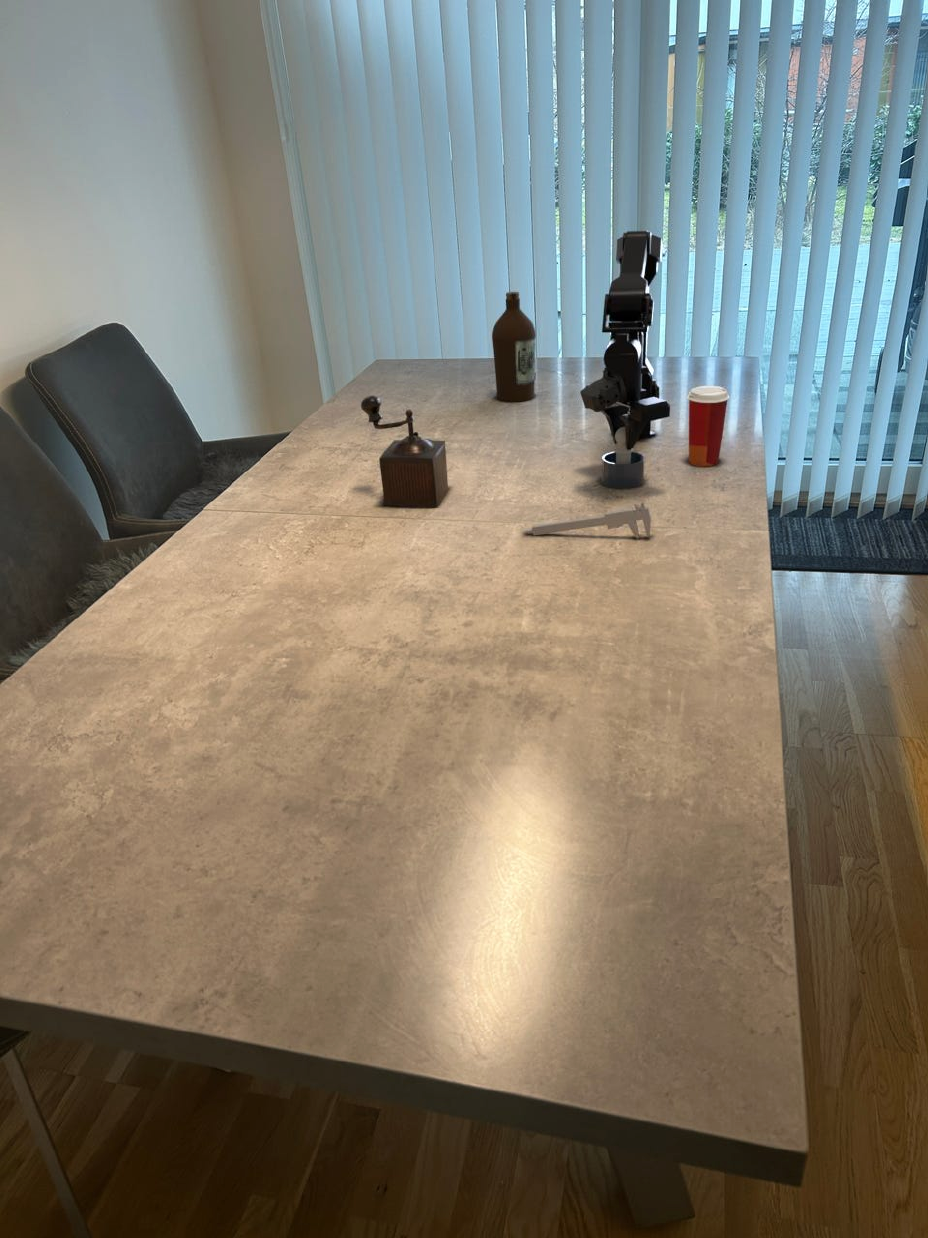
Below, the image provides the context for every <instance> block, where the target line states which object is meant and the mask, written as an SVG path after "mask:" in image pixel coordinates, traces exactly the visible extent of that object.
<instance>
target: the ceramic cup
mask: <svg viewBox="0 0 928 1238" xmlns="http://www.w3.org/2000/svg"><path fill="white" fill-rule="evenodd" d="M645 458H646V457H645V456H644V455H643V454H642V453H639V452H637V451H633V452H632V453H631V463H630V464H616V453H615V451H611V452H607V453H605V454H603V456H601V477H600V479H601V480H600V481H601V483H602V484H603V485H604V486H606V487H609V488H614V489H631V488H636V487H639V486H641V485H642V484H643V483H644V478H645Z"/></svg>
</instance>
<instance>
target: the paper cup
mask: <svg viewBox="0 0 928 1238" xmlns="http://www.w3.org/2000/svg"><path fill="white" fill-rule="evenodd" d="M686 399H687V400H688V463H689V464H691V465H693V466H695V467H696V466H698V467H711V466H716V465H717V464H718V463H719V460H720V454H721V449H722V440H723V434H724V430H725V429H724V427H725V421H726V413H727V407H728V400H729V399H730V395H729V392H728V390H727V389H726V388H725V387H723V386H719V385H718V386H717V385H701V386H695V387H693V388H691V390H690V391H689V392H688V395H687V396H686Z"/></svg>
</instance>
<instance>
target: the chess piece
mask: <svg viewBox="0 0 928 1238" xmlns="http://www.w3.org/2000/svg"><path fill="white" fill-rule="evenodd" d="M615 439H616V442H617V443H616V444H615V443H614V448H615V449H614V452H615V453H616V464H630V463H631V453H632V452H634V451H633V449H634V448H633V449H631V450H627V448H626V436H625V427H622V428H620V429H618V430H617V432H616V434H615Z"/></svg>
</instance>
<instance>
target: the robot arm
mask: <svg viewBox="0 0 928 1238" xmlns="http://www.w3.org/2000/svg"><path fill="white" fill-rule="evenodd" d="M615 249H616V250H615V262H616V264H617V265H619V276H618V277H616V278H615V279H613V280H612V281H611V282H610V286H609V290H608V293H605V295H604V300H603V301H604V302H603V304H604V305H603V314H602V315H603V316H602V327H601V333H608V334H609V333H610V335H609V341H608V345H607V347H606V349H605V351H604V353H603V364H604V366H605V367H604V368H603V371H602V377H601V378H599V379H597V380H595V381H593V382H591V383H590V384H586V385H585V387H584V388H583V389H581V390H580V392H579V394H580V397H581V399H582V402H583V403H582V404H583V406H584V409H586V410H591V411H593V412H594V413H601V414H602V415H604V416H605V418H606V421H607V423H608V427H609V430H610V433H611V437H612V440H613V444H614V445H615V444H616V443H617V442H616V439H615V434H616V432H617V430H618V429H620V428H622V427H625V436H626V448H627V450H631V449H634V447H635V445H636V443H637V441H638V440H641V439H645V438H649V437H653V436H656V431H655V432H654V431H652V430H651V428H652V422H653V421H657V420H661V419H667V418H670V415H671V404H670V402H668V401H667V400H665V399H662V398H660V386H659V385H658V382H657V379H654V377H655V376H654V374H655V373H654V372H655V371H654V367H653V366H652V364H651V363H650V361H649V359H648V357H647V356H648V333H649V327H652V326H653V318H654V307H655V306H654V305H655V299H654V298H653V297H652V296H653V295H652V293H651V292H650V285H651V284H652V282H653V280H654V278H655V277H656V276H657V273H658V270H659V264H661V263H662V261H663V259H662V258H663V239H662V237H659V236H657V235H654V234H652V232H651V231H648V230H627V231H626V232H623V235H622V236H621V237H619V238H617V239H616V247H615Z"/></svg>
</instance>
